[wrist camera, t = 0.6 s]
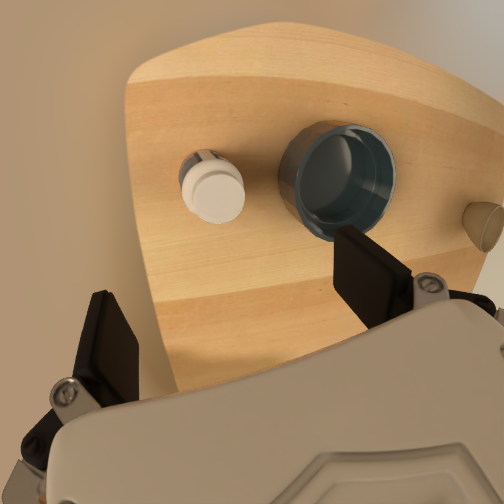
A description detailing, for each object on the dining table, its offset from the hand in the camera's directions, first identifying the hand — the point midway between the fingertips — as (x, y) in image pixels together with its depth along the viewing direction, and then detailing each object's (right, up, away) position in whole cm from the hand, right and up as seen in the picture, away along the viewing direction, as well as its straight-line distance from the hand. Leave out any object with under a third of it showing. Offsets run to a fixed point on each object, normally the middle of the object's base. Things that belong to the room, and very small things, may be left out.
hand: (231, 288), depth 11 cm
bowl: (+10, +11, +21) cm, 26 cm away
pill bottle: (-4, +10, +17) cm, 20 cm away
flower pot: (+44, +9, +33) cm, 56 cm away
